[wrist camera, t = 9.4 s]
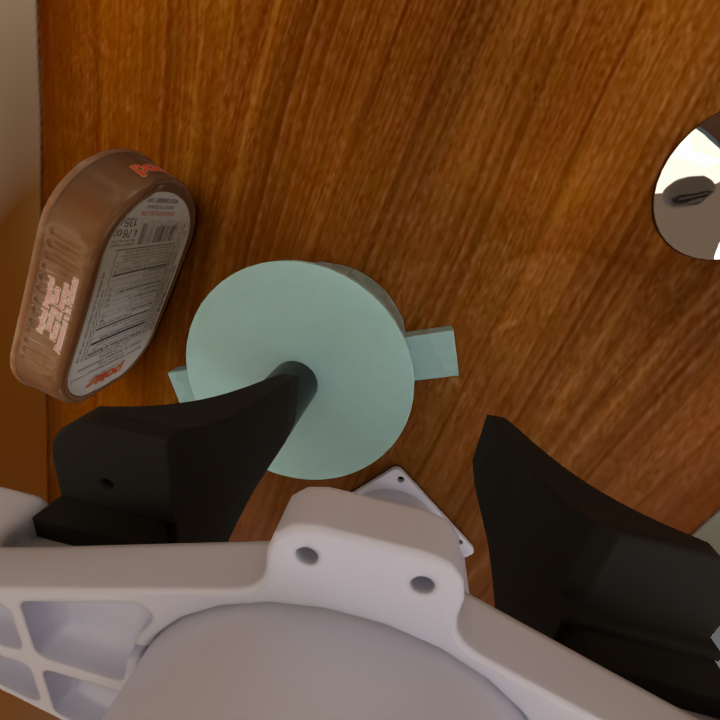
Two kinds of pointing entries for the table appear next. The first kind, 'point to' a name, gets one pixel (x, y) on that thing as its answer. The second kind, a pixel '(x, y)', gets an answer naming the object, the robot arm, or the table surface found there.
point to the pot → (426, 346)
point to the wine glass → (691, 194)
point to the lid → (308, 361)
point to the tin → (100, 273)
